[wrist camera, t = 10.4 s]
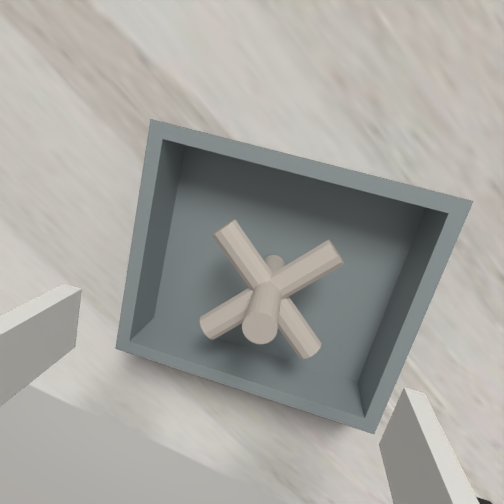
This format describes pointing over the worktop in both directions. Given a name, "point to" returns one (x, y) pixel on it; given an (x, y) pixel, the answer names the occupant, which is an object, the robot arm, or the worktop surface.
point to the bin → (289, 249)
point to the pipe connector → (268, 292)
